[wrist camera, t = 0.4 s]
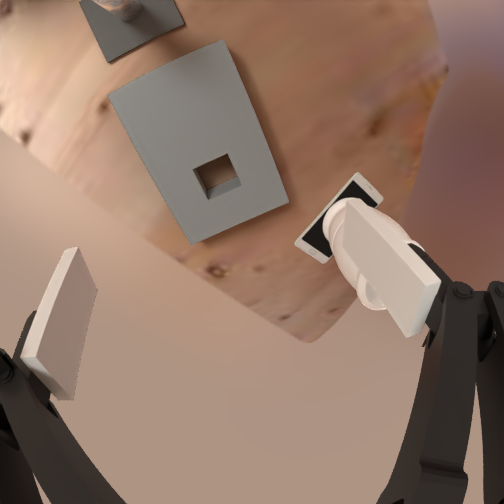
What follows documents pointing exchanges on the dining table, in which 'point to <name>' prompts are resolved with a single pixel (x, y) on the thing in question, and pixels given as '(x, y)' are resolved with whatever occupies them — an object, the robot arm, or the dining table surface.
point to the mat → (130, 25)
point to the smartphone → (313, 236)
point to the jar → (350, 271)
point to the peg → (122, 8)
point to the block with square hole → (200, 140)
